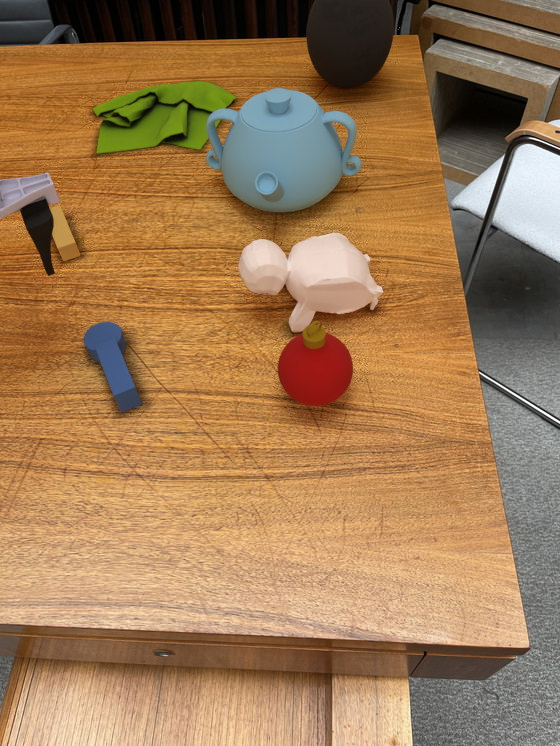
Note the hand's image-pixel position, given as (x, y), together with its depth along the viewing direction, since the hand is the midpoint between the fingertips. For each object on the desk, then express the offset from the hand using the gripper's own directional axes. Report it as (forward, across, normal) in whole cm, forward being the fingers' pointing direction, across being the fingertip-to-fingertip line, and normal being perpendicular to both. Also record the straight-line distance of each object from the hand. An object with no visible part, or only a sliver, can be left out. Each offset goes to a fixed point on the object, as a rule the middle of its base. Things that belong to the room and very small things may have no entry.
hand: (10, 282), depth 61 cm
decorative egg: (+10, -54, -30) cm, 62 cm away
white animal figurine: (+10, -28, +8) cm, 31 cm away
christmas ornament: (+10, -23, +19) cm, 31 cm away
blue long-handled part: (+9, -6, +7) cm, 13 cm away
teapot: (+10, -33, -10) cm, 36 cm away
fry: (+9, -6, -16) cm, 20 cm away
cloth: (+10, -25, -36) cm, 45 cm away
